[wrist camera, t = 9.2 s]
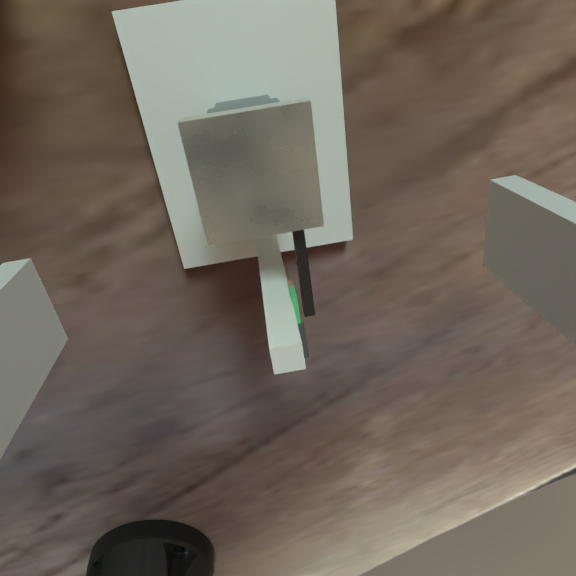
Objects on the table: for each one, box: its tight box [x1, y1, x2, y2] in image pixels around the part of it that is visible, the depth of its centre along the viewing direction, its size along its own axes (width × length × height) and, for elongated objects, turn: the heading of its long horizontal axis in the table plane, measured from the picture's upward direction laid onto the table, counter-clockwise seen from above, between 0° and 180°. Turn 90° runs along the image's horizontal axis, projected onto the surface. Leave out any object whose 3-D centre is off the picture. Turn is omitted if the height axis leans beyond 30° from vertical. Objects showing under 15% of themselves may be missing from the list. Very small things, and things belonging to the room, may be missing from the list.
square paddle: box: [178, 98, 324, 317], centre depth 27 cm, size 6×12×10 cm, turn 8°
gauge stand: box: [112, 0, 353, 375], centre depth 26 cm, size 14×18×18 cm
